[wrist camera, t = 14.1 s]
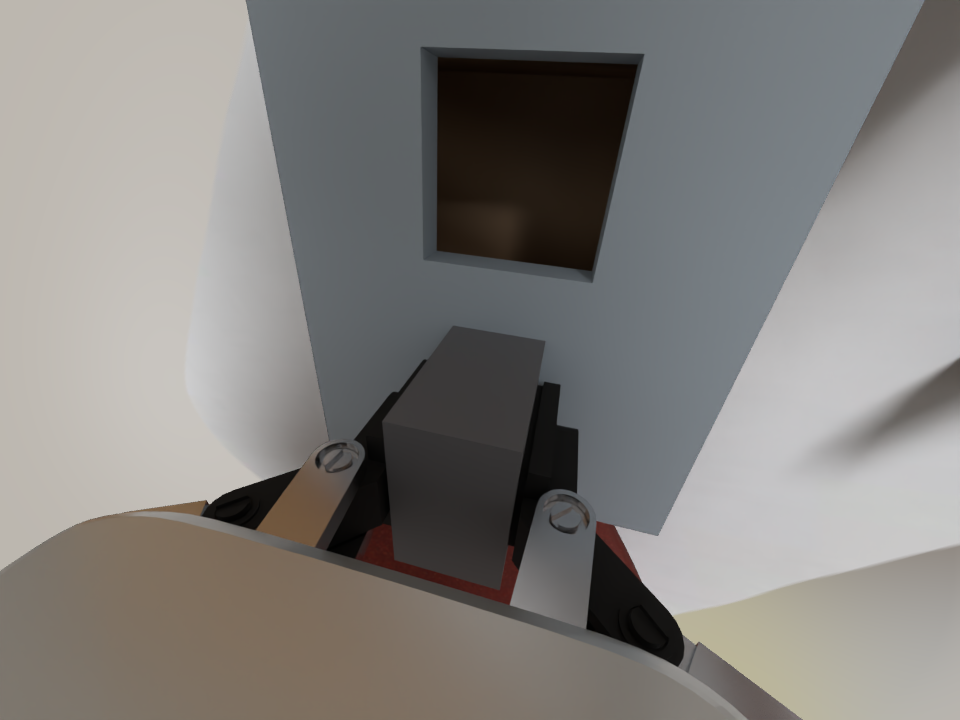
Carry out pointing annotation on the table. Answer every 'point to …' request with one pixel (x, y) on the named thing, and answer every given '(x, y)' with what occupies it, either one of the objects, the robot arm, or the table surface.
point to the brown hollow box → (527, 156)
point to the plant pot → (383, 556)
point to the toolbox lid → (549, 289)
